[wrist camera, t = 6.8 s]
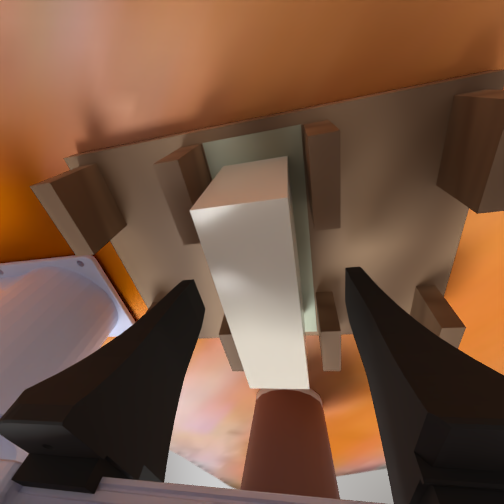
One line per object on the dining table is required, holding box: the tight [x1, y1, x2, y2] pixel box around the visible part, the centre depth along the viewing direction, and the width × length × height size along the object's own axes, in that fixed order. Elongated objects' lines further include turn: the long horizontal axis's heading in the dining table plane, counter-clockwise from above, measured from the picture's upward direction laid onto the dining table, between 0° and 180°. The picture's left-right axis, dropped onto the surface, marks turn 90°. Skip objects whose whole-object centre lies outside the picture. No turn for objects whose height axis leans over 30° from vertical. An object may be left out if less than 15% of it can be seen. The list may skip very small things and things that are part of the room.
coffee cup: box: [240, 388, 340, 499], centre depth 20 cm, size 9×9×12 cm
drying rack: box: [30, 70, 504, 371], centre depth 14 cm, size 19×14×4 cm
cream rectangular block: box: [190, 156, 309, 389], centre depth 12 cm, size 3×10×5 cm, turn 11°
